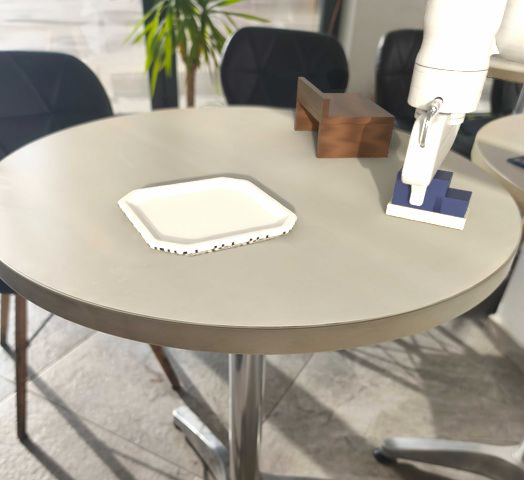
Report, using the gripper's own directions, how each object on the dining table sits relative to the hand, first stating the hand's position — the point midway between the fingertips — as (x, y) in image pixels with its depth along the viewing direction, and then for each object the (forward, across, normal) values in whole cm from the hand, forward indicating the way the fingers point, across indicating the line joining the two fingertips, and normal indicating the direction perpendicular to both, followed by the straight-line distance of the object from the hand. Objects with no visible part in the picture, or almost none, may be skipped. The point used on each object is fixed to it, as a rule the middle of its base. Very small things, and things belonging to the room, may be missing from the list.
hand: (420, 196), depth 72 cm
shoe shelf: (+3, +30, +22) cm, 37 cm away
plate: (+3, -18, +25) cm, 31 cm away
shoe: (+3, 0, -2) cm, 3 cm away
